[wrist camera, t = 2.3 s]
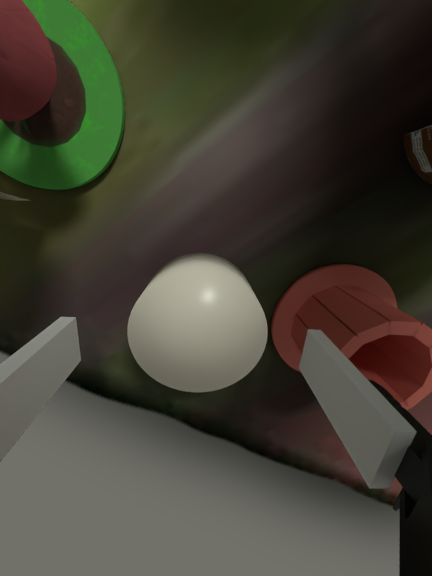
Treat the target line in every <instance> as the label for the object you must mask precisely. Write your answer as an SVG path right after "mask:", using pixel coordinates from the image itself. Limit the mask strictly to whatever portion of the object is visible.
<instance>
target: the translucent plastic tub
mask: <svg viewBox="0 0 432 576" xmlns="http://www.w3.org/2000/svg"><path fill="white" fill-rule="evenodd" d="M124 124H125V103H124V95H123V90H122V85H121V81H120V78H119V75H118V72H117V69H116V67H115V64H114V62H113V59H112V57H111V55H110V53H109V51H108V49H107V48H106V46H105V44H104V43H103V41H102V39H101V38H100V36H99V35H98V33H97V32H96V31H95V29H94V28H93V26H92V25H91V24H90V23H89V21H88V20H87V19H86V18H85V17H84V16H83V14H82V13H81V12H80V11H79V10H78V9H76V8H75V7H74V6H73V5H72V4H71V3H70V2H69V1H67V0H0V171H2V172H3V173H5V174H6V175H8V176H10V177H12V178H14V179H16V180H18V181H20V182H22V183H25V184H27V185H31V186H34V187H38V188H43V189H54V190H65V189H72V188H76V187H80V186H83V185H85V184H87V183H89V182H91V181H93V180H94V179H96V178H97V177H98V176H100V175H101V174H102V173H103V172H104V171H105V170H106V169H107V168H108V166H109V165H110V164H111V162H112V161H113V159H114V157H115V155H116V153H117V151H118V149H119V146H120V144H121V140H122V136H123V132H124ZM0 199H4V200H26V201H32V200H28V199H24V198H20V197H16V196H13V195H9V194H6V193H3V192H1V191H0Z"/></svg>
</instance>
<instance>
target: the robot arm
mask: <svg viewBox="0 0 432 576" xmlns="http://www.w3.org/2000/svg"><path fill="white" fill-rule="evenodd" d="M80 361H81V356H80V348H79V340H78V331H77V323H76V317H60V318H59V319H58V320H56V321H55V322H54V323H53V324H51V325H50V326H49V327H47V328H46V329H45V330H44V331H42V332H41V333H40V334H38V335H37V336H36V337H35V338H33V339H32V340H31V341H29V342H28V343H27V344H26V345H24V346H23V347H22V348H21V349H19V350H18V351H17V352H15V353H14V354H13V355H12V356H10V357H9V358H8V359H6V360H5V361H4V362H3V363H1V364H0V462H1V460H2V459H3V458H4V457H5V455H6V454H7V453H8V452H9V450H10V449H11V448H12V447H13V445H14V444H15V443H16V441H17V440H18V439H19V438H20V436H21V435H22V434H23V433H24V431H25V430H26V429H27V428H28V426H29V425H30V424H31V423H32V421H33V420H34V419H35V417H36V416H37V415H38V414H39V412H40V411H41V410H42V409H43V407H44V406H45V405H46V404H47V402H48V401H49V400H50V399H51V397H52V396H53V395H54V394H55V392H56V391H57V390H58V388H59V387H60V386H61V385H62V383H63V382H64V381H65V380H66V378H67V377H68V376H69V375H70V373H71V372H72V371H73V370H74V368H75V367H76V366H77V365H78V363H79V362H80ZM299 369H300V371H301V373H302V375H303V376H304V378H305V380H306V381H307V383H308V385H309V386H310V388H311V390H312V392H313V393H314V395H315V397H316V398H317V400H318V402H319V403H320V405H321V407H322V409H323V410H324V412H325V414H326V415H327V417H328V419H329V420H330V422H331V424H332V426H333V427H334V429H335V431H336V432H337V434H338V436H339V437H340V439H341V441H342V443H343V444H344V446H345V448H346V449H347V451H348V453H349V454H350V456H351V458H352V460H353V461H354V463H355V465H356V466H357V468H358V470H359V471H360V473H361V475H362V477H363V478H364V480H365V482H366V483H367V485H368V487H369V488H390V486H391V484H392V482H393V480H394V478H395V477H396V478H397V480H398V481H399V482H400V484H401V485H402V487H403V488H402V490H401V492H400V494H399V496H398V498H397V500H396V501H395V503H394V506H393V509H394V510H396V511H397V509H398V507H399V506H400V576H432V435H431V434H430V433H429V432H428V431H427V430H426V429H425V428H424V427H423V426H422V425H421V424H420V423H419V422H418V421H417V420H416V419H415V418H414V417H413V416H412V415H411V414H410V413H409V412H408V411H407V410H406V409H405V408H404V407H402V405H401V404H400V403H399V402H398V401H397V400H396V399H394V397H393V396H392V395H391V394H390V393H389V392H388V391H387V390H386V389H385V388H384V387H382V386H381V385H379V384H378V383H376V382H375V381H373V380H367V378H366V377H365V376H364V375H363V374H362V373H361V372H360V371H359V370H358V369H357V368H356V367H355V366H354V365H353V364H352V363H351V362H350V360H349V359H348V358H347V357H346V356H345V355H344V354H343V353H342V352H341V351H340V350H339V349H338V348H337V347H336V346H335V345H334V344H333V343H332V341H331V340H330V339H329V338H328V337H327V336H326V335H325V334H324V333H323V332H322V331H321V330H313V329H308V331H307V336H306V340H305V344H304V348H303V352H302V357H301V361H300V365H299Z"/></svg>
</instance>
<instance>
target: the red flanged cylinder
mask: <svg viewBox="0 0 432 576" xmlns="http://www.w3.org/2000/svg"><path fill="white" fill-rule="evenodd" d="M308 329H313V330H321V331H322V332H323V333H324V334H325V335H326V336H327V337H328V338H329V339H330V340H331V341H332V343H333V344H334V345H335V346H336V347H337V348H338V349H339V350H340V351H341V352H342V353H343V354H344V355H345V356H346V357H347V358H348V359H349V360H350V362H351V363H352V364H353V365H354V366H355V367H356V368H357V369H358V370H359V371H360V372H361V373H362V374H363V375H364V376H365V377H366V378H367V380H373V381H375V382H376V383H378V384H379V385H381V386H382V387H384V388H385V389H386V390H387V391H388V392H389V393H390V394H391V395H392V396H393V397H394V399H396V400H397V401H398V402H399V403H400V404H401V405H402V407H404V408H405V409H406V410H409V408H412V407H413V406H415V405H416V404H417V403H418V402H419V401H421V400H422V399H423V398H424V397H425V396H427V395H428V394H429V393H430V392H432V329H430V328H429V327H428V326H426V325H425V324H424V323H422V322H421V321H419V320H417V319H415V318H413V317H412V316H410V315H408V314H406V313H404V312H403V311H401V310H399V309H397V302H396V298H395V295H394V292H393V290H392V288H391V287H390V286H389V284H388V283H387V282H386V281H385V280H384V279H383V278H382V277H381V276H379V275H378V274H376V273H375V272H373V271H371V270H368V269H366V268H364V267H361V266H357V265H353V264H330V265H326V266H322V267H319V268H316V269H314V270H312V271H310V272H308V273H306V274H304V275H303V276H301V277H300V278H298V279H297V280H296V281H294V282H293V283H292V284H291V285H290V286H289V287H288V288H287V289H286V290H285V292H284V293H283V294H282V296H281V297H280V299H279V300H278V302H277V304H276V306H275V309H274V311H273V315H272V320H271V335H272V340H273V342H274V345H275V347H276V349H277V351H278V353H279V355H280V356H281V358H282V359H283V360H284V361H285V362H286V363H287V364H288V365H289V366H290V367H292V368H293V369H295V370H297V371H299V372H301V371H300V369H299V365H300V361H301V357H302V352H303V348H304V344H305V340H306V336H307V331H308Z"/></svg>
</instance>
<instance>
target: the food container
mask: <svg viewBox="0 0 432 576" xmlns="http://www.w3.org/2000/svg"><path fill="white" fill-rule="evenodd" d="M403 138H404V146H405V153H406V155H407V157H408V159H409V161H410V163H411V166H412V168H413V170H414V171H415V172H416V173H417V174H418V175H419V176H420V177H421V178H422V179H424V180H425V181H426V182H427V183H430V184H432V125H430V126H428V127H425V128H422V129H420V130H417V131H414V132H411V133H409V134H406V135H403Z"/></svg>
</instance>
